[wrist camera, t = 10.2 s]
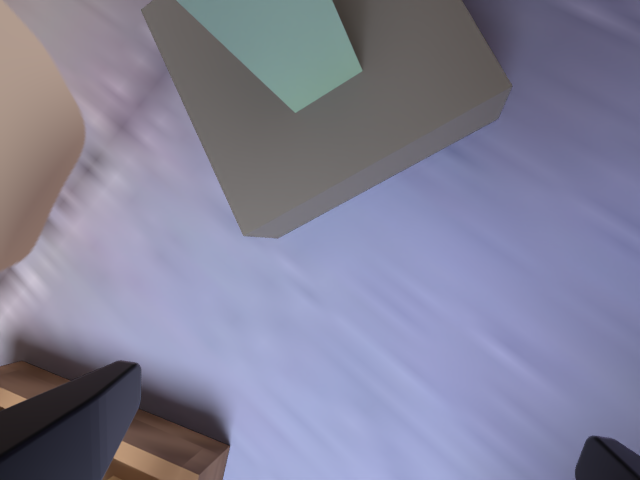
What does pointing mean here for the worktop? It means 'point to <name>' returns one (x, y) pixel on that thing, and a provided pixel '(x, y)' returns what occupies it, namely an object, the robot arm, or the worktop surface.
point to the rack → (131, 435)
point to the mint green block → (283, 43)
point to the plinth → (333, 107)
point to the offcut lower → (114, 478)
